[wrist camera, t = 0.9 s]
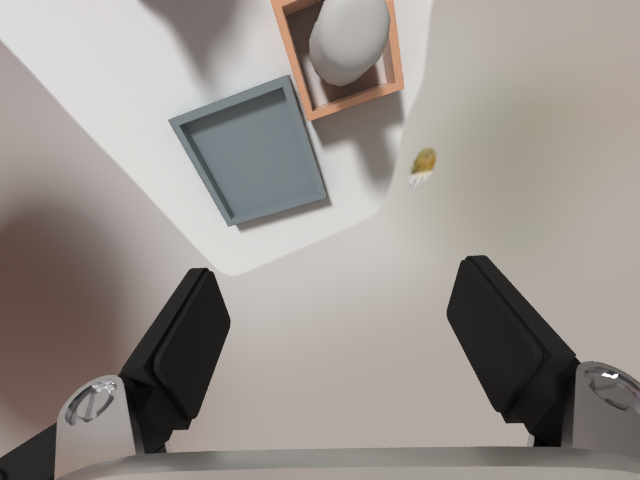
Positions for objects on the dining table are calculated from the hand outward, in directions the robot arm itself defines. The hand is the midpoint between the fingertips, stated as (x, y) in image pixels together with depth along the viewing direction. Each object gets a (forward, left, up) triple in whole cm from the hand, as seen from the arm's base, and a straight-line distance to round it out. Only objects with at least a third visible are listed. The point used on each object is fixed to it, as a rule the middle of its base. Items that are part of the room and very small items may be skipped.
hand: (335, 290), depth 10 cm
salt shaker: (-4, -9, -24) cm, 26 cm away
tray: (+8, -1, -24) cm, 25 cm away
